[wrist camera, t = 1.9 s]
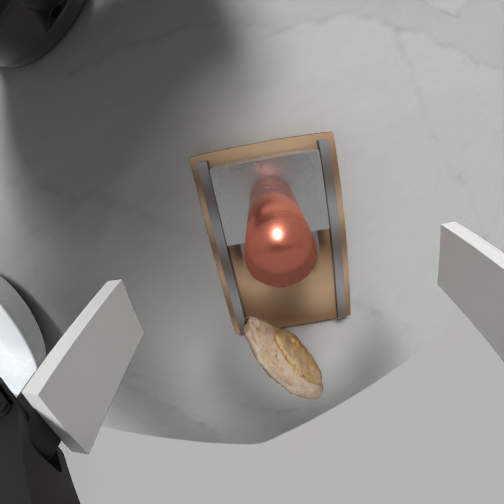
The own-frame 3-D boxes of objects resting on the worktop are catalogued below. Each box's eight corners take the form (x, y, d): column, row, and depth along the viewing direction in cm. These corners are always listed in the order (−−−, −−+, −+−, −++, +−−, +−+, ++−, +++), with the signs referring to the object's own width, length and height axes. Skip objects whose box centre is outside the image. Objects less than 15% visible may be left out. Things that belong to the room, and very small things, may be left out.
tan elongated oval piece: (260, 339, 25) (220, 352, 27) (335, 405, 30) (301, 413, 32) (267, 295, 29) (231, 310, 31) (334, 367, 35) (303, 376, 37)
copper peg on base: (214, 164, 25) (173, 206, 13) (312, 147, 24) (364, 172, 12) (235, 253, 28) (219, 353, 16) (324, 238, 27) (370, 328, 15)
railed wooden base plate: (193, 156, 26) (186, 159, 24) (329, 131, 25) (335, 132, 23) (236, 325, 33) (235, 340, 31) (347, 307, 32) (352, 320, 30)
